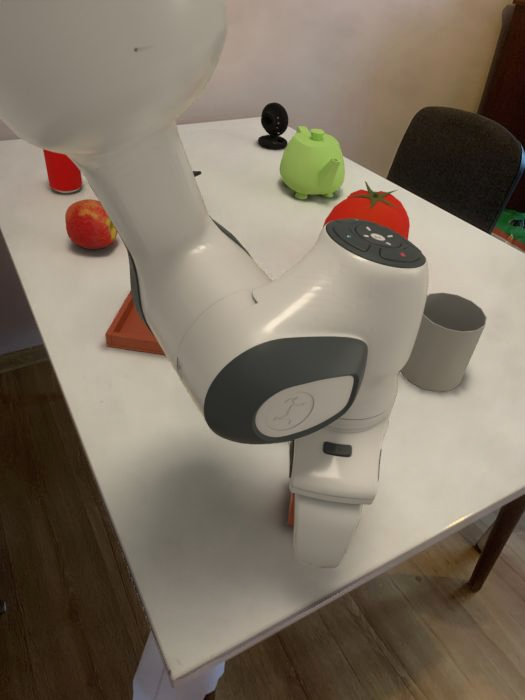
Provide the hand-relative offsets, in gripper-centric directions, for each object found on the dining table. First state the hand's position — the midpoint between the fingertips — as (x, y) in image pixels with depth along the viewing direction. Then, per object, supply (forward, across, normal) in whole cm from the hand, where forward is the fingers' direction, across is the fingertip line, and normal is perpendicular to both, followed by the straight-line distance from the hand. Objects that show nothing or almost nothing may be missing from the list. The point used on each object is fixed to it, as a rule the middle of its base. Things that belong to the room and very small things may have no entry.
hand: (313, 500), depth 54 cm
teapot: (+2, -80, -5) cm, 80 cm away
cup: (+2, -25, +15) cm, 29 cm away
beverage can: (+2, -65, -53) cm, 84 cm away
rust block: (+2, 0, 0) cm, 2 cm away
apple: (+2, -45, -40) cm, 60 cm away
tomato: (+2, -49, +5) cm, 49 cm away
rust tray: (+2, -27, -22) cm, 35 cm away
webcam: (+2, -105, -16) cm, 106 cm away
